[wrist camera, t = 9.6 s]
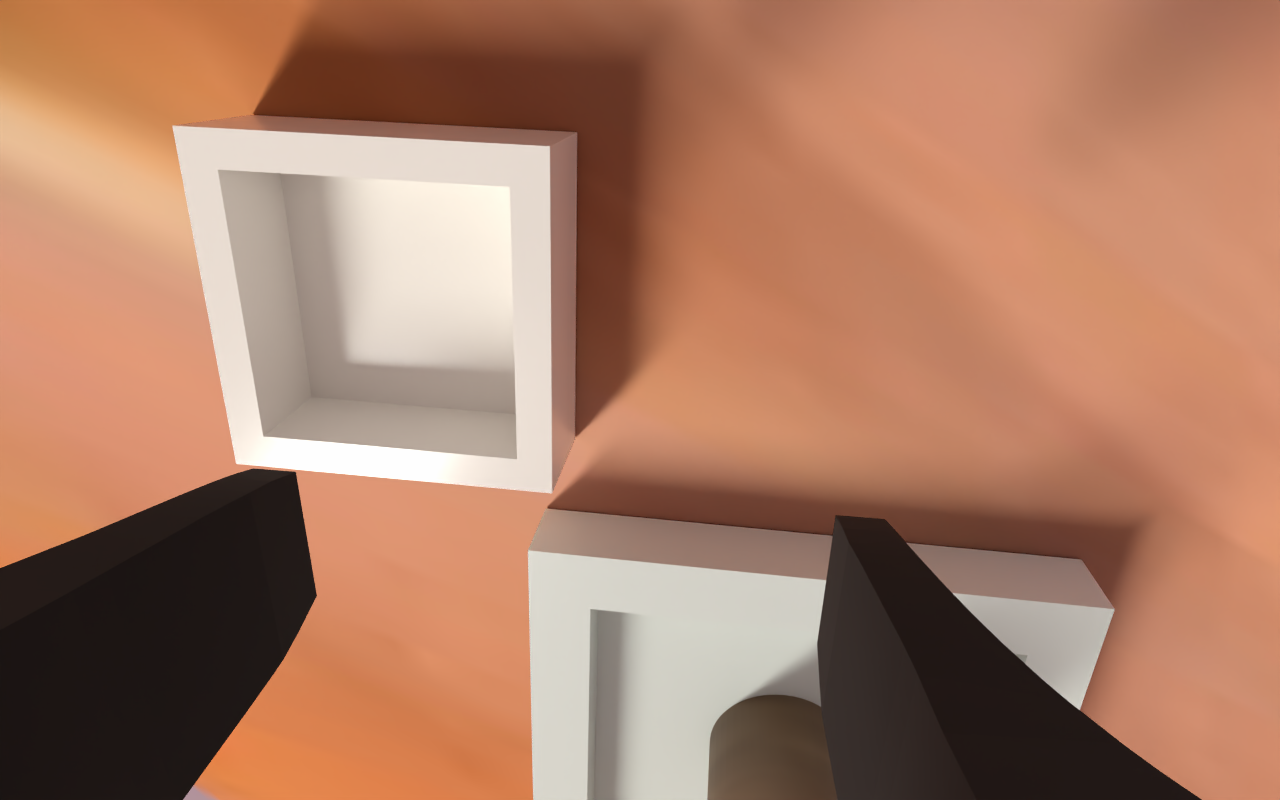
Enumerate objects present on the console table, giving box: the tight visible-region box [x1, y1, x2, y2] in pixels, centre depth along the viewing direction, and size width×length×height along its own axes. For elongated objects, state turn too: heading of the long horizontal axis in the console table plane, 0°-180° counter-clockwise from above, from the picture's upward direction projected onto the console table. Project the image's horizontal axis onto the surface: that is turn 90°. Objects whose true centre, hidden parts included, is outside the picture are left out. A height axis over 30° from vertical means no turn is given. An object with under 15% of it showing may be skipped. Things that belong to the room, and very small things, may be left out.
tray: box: [528, 509, 1115, 800], centre depth 23 cm, size 14×14×2 cm
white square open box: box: [173, 115, 577, 493], centre depth 18 cm, size 8×8×3 cm
